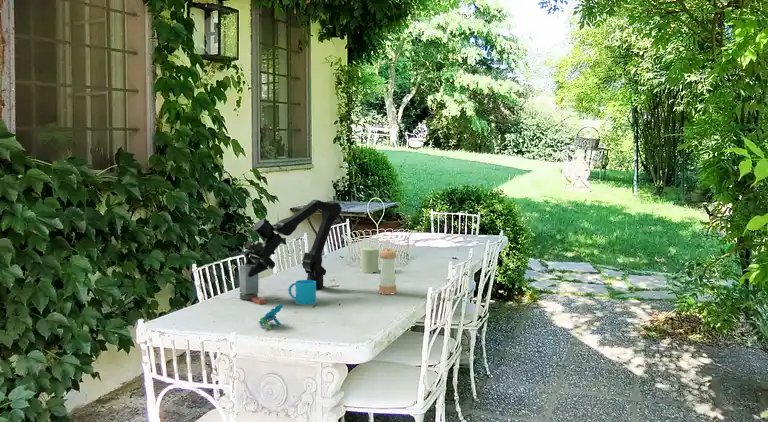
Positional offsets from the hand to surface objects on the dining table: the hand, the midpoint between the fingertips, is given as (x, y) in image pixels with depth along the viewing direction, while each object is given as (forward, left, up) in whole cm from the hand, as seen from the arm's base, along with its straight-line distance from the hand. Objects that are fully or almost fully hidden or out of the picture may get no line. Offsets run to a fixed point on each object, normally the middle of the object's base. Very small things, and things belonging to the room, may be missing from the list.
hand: (245, 275), depth 261 cm
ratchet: (-4, 0, -10) cm, 10 cm away
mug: (-21, -9, -10) cm, 25 cm away
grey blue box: (0, -1, -7) cm, 7 cm away
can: (-10, -76, -10) cm, 78 cm away
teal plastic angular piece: (-34, +24, -10) cm, 43 cm away
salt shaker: (-42, -41, -10) cm, 60 cm away
